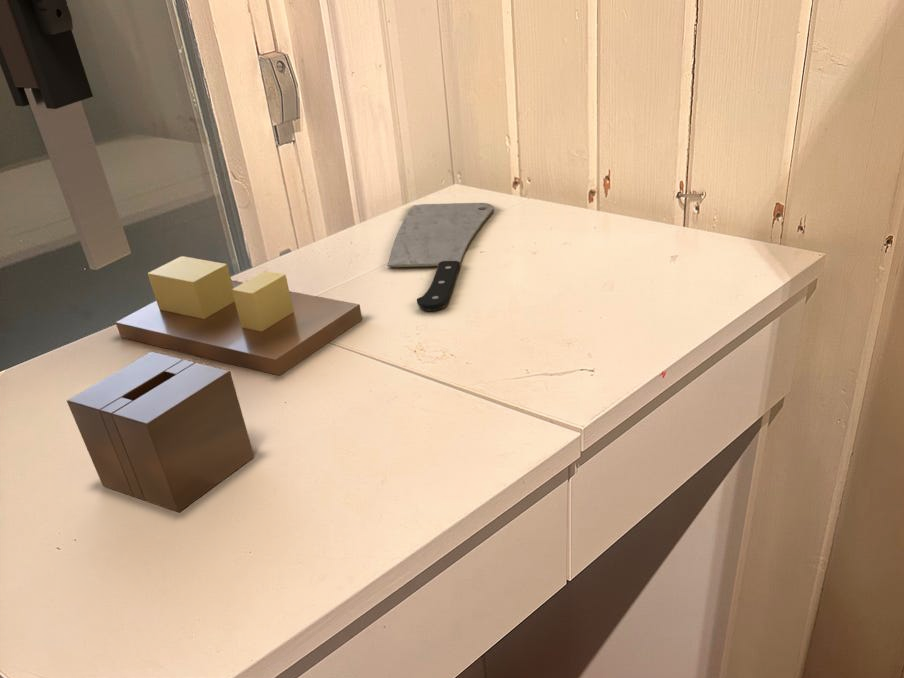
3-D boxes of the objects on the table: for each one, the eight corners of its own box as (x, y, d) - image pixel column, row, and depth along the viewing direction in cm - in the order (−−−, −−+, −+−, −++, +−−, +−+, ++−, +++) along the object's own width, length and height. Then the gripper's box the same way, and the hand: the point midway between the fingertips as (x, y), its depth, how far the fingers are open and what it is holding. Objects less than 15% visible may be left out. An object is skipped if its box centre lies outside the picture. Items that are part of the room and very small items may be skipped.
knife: (82, 267, 58) (-64, -123, 45) (118, 250, 59) (-12, -129, 47) (103, 272, 57) (-39, -125, 44) (139, 254, 59) (13, -131, 46)
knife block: (102, 486, 67) (65, 400, 63) (179, 434, 72) (151, 351, 67) (179, 512, 64) (146, 424, 59) (254, 456, 69) (230, 370, 64)
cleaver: (348, 312, 87) (451, 310, 85) (347, 306, 86) (450, 305, 85) (413, 207, 108) (496, 204, 106) (412, 203, 107) (496, 200, 106)
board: (120, 337, 87) (115, 322, 86) (208, 289, 94) (204, 274, 93) (279, 375, 78) (275, 359, 77) (362, 319, 86) (359, 304, 85)
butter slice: (241, 327, 83) (231, 289, 80) (273, 308, 85) (264, 270, 83) (262, 332, 82) (252, 293, 79) (294, 312, 84) (285, 274, 82)
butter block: (159, 309, 87) (147, 273, 85) (192, 291, 90) (181, 255, 88) (204, 319, 85) (193, 282, 82) (237, 300, 87) (227, 263, 85)
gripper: (17, -608, 35) (195, 90, 51) (-194, -516, 41) (23, 79, 57) (-167, -655, 30) (92, 127, 46) (-372, -542, 37) (-82, 111, 53)
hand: (54, 100), depth 52 cm, fingers closed on knife, 2 cm apart
